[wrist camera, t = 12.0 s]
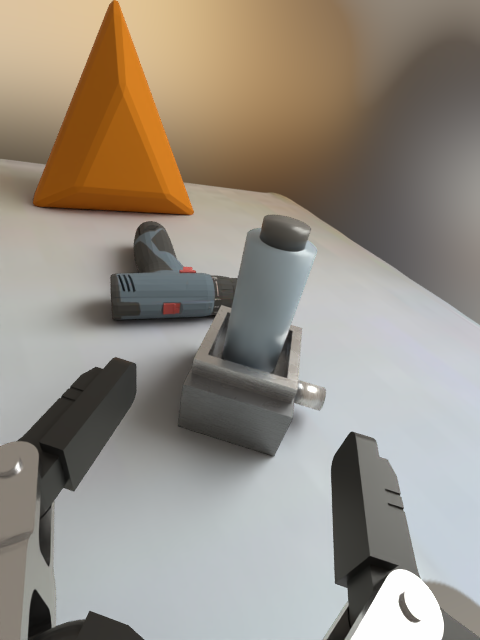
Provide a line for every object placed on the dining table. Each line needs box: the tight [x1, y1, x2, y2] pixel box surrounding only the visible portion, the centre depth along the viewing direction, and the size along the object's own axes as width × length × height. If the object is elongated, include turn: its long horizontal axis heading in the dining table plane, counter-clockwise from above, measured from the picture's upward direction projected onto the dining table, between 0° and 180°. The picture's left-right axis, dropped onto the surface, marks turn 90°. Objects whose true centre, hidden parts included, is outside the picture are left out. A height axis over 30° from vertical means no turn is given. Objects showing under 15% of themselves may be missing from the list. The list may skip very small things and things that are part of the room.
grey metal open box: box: [178, 305, 326, 456], centre depth 26 cm, size 11×10×6 cm
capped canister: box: [223, 215, 317, 373], centre depth 22 cm, size 5×5×11 cm
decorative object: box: [33, 0, 194, 215], centre depth 53 cm, size 30×15×30 cm, turn 115°
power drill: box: [111, 221, 238, 320], centre depth 41 cm, size 5×19×20 cm
